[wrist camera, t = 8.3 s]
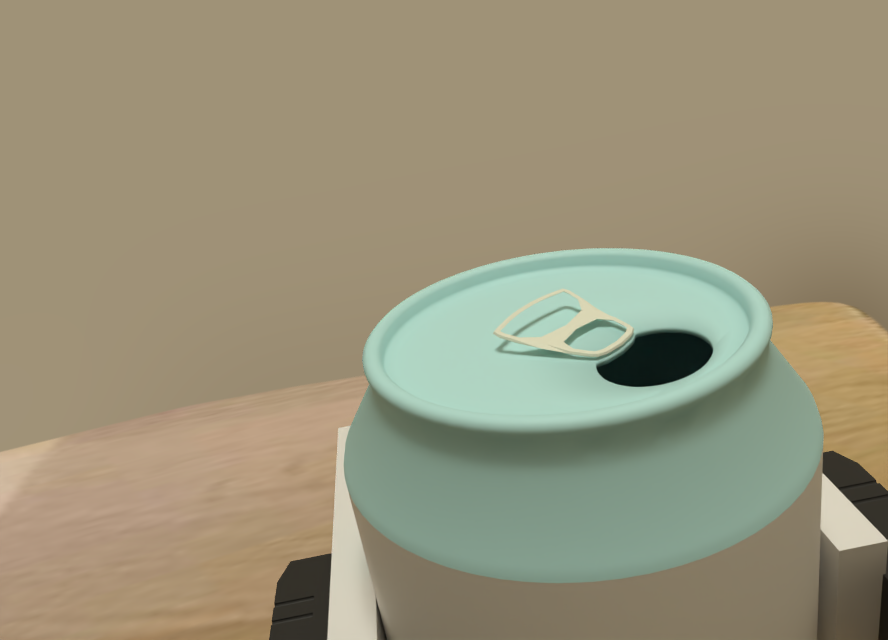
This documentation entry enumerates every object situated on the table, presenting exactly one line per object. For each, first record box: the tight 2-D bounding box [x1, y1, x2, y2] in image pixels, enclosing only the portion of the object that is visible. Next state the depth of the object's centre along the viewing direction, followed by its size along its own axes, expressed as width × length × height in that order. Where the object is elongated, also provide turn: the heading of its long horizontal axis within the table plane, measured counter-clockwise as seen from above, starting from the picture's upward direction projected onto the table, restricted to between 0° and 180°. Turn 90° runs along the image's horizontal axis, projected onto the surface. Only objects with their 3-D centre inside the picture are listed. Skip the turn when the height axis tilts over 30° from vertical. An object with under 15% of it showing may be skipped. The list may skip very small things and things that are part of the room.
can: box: [344, 248, 823, 640], centre depth 14 cm, size 7×7×12 cm
